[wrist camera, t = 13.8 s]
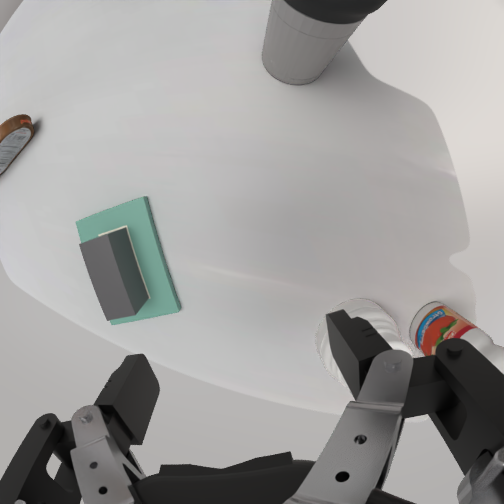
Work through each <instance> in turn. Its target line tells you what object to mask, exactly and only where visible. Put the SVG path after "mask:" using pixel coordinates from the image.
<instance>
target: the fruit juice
mask: <svg viewBox="0 0 504 504" xmlns="http://www.w3.org/2000/svg"><path fill="white" fill-rule="evenodd" d="M410 338H411V340H412V342H413V344H414V345H415V346H416V347H417V348H418V349H419V350H420V351H421V352H422V353H423V354H424V355H425V356H430V355H435V350H436V347H437V345H438V344H439V343H440V342H442V341H444V340H446V339H449V338H461V339H464V340H466V341H468V342H469V343H470V344H472V345H473V346H474V347H475V348H476V349H477V350H478V351H479V352H480V353H482V354H483V355H484V356H485V357H486V358H487V359H488V360H489V361H490V362H491V363H492V364H493V365H494V366H495V367H497V368H498V369H499V370H500V371H501V372H502V373H503V374H504V347H502V346H498V345H495V344H494V343H493V340H492V339H491V338H490V336H488V334H486V333H485V332H484V331H483V330H481V329H480V328H478V327H477V326H475V325H474V324H472V323H471V322H469V321H468V320H466V319H465V318H464V317H462V316H461V315H459V314H458V313H456V312H455V311H453V310H452V309H450V308H448V307H447V306H445V305H444V304H442V303H438V302H433V303H430V304H427V305H426V306H424V307H423V308H422V309H421V310H420V311H419V312H418V313H417V315H416V316H415V318H414V320H413V322H412V324H411V328H410Z"/></svg>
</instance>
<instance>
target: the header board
mask: <svg viewBox="0 0 504 504" xmlns="http://www.w3.org/2000/svg"><path fill="white" fill-rule="evenodd" d="M76 225H77V229H78V233H79V236H80V240H81V243H83V242H86V241H88V240H91V239H94V238H96V237H99V236H101V235H104V234H107V233H110V232H113V231H116V230H119V229H122V228H125V227H126V229H127V232H128V235H129V239H130V242H131V245H132V249H133V252H134V255H135V258H136V261H137V264H138V267H139V270H140V273H141V276H142V279H143V282H144V285H145V288H146V290H147V293H148V296H149V299H148V300H147V301H146V302H145V304H144V305H143V306H142V308H141V309H140V310H139V312H138V313H137V314H136V315H134V316H129V317H124V318H119V319H114V320H110V322H111V325H116V324H121V323H127V322H132V321H137V320H142V319H147V318H152V317H157V316H162V315H167V314H172V313H177V312H179V311H180V309H181V306H180V304H179V301H178V298H177V295H176V292H175V289H174V286H173V283H172V280H171V277H170V274H169V271H168V268H167V265H166V262H165V259H164V256H163V252H162V249H161V246H160V242H159V239H158V236H157V232H156V229H155V225H154V222H153V218H152V215H151V211H150V207H149V203H148V200H147V196H146V197H141V198H138V199H135V200H132V201H130V202H127V203H124V204H121V205H118V206H115V207H113V208H110V209H107V210H105V211H102V212H99V213H97V214H94V215H91V216H89V217H86V218H84V219H81V220H79V221H76Z"/></svg>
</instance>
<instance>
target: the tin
mask: <svg viewBox="0 0 504 504" xmlns="http://www.w3.org/2000/svg"><path fill="white" fill-rule="evenodd" d="M33 134H34V128H33V125H32V122H31V118H30V117H29V116H28V115H23V114H22V115H17V116H14V117H11V118H10V119H8V120H6V121H5V122H4V123H2V124H1V125H0V174H1V173H3V172H4V171H5V170H6V169H7V167H8V166H9V165H10V164H11V162H12V161H13V160H14V159H15V158H16V156H17V155H18V154H19V153H20V152H21V150H22V149H23V148H24V147H25V146H26V145H27V144H28V142H29V141H30V140H31V138H32V136H33Z"/></svg>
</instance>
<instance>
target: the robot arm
mask: <svg viewBox="0 0 504 504" xmlns="http://www.w3.org/2000/svg"><path fill="white" fill-rule="evenodd" d="M386 1H387V0H272V2H271V8H270V13H269V18H268V24H267V29H266V34H265V39H264V45H263V51H262V61H263V64H264V66H265V68H266V70H267V71H268V72H269V73H270V74H271V75H272V76H274V77H275V78H276V79H278V80H280V81H282V82H285V83H288V84H294V85H301V84H307V83H310V82H312V81H314V80H315V79H317V78H318V77H319V76H320V74H321V73H322V72H323V71H324V69H325V68H326V67H327V66H328V64H329V63H330V62H331V60H332V59H333V58H334V56H335V55H336V54H337V53H338V51H339V50H340V49H341V47H342V46H343V45H344V44H345V42H346V41H347V40H348V39H349V37H350V36H351V35H352V34H353V32H354V31H355V30H356V28H357V27H358V26H359V25H360V24H361V22H362V21H363V20H364V19H365V17H366V16H367V15H368V14H370V13H372V12H374V11H376V10H378V9H379V8H380V7H381V6H382V5H383V4H384V3H385V2H386ZM326 322H327V329H328V336H329V343H330V349H331V352H332V356H333V358H334V360H335V362H336V364H337V366H338V368H339V370H340V372H341V373H342V375H343V377H344V379H345V381H346V383H347V385H348V387H349V389H350V391H351V393H352V395H353V397H354V399H355V401H356V402H355V401H350V402H349V403H348V405H347V406H346V408H345V410H344V412H343V414H342V416H341V418H340V420H339V422H338V424H337V426H336V428H335V430H334V431H333V433H332V435H331V437H330V439H329V441H328V442H327V444H326V446H325V448H324V449H323V451H322V453H321V454H320V456H319V458H318V460H317V461H309V460H293V458H292V455H291V452H286V453H280V454H275V455H270V456H264V457H259V458H254V459H252V460H249V461H246V462H243V463H240V464H237V465H233V466H230V467H227V468H224V469H217V468H210V467H203V466H197V465H191V464H182V465H161V467H160V471H159V473H158V474H154V475H151V476H148V477H146V475H145V474H144V472H143V470H142V469H141V467H140V465H139V463H138V461H137V460H136V458H135V456H134V454H133V452H132V451H131V450H130V449H129V448H130V445H142V443H143V440H144V437H145V434H146V431H147V428H148V425H149V422H150V419H151V416H152V413H153V410H154V407H155V404H156V401H157V398H158V395H159V391H160V387H159V383H158V380H157V378H156V377H155V374H154V372H153V370H152V368H151V366H150V364H149V362H148V360H147V358H146V357H145V355H144V354H135V355H128V356H126V358H125V359H124V361H123V363H122V364H121V366H120V367H119V368H118V369H117V370H116V371H115V372H114V373H112V375H111V376H110V378H109V380H108V382H107V383H106V385H105V388H103V390H102V391H101V393H100V395H99V396H98V398H97V400H96V401H95V403H94V405H88V406H84V407H82V408H80V409H79V410H77V411H76V412H75V413H74V415H73V416H72V420H71V421H66V422H60V421H59V419H58V418H57V416H56V415H55V414H52V413H49V414H45V415H43V416H41V417H39V418H38V419H37V420H36V421H35V423H34V425H33V426H32V428H31V429H30V431H29V432H28V434H27V435H26V437H25V439H24V440H23V442H22V444H21V445H20V447H19V449H18V450H17V452H16V454H15V455H14V457H13V459H12V461H11V462H10V464H9V466H8V468H7V469H6V471H5V473H4V475H3V477H2V479H1V480H0V504H80V501H81V498H83V501H84V504H415V503H413V502H410V501H407V500H404V499H402V498H399V497H397V496H394V495H391V494H389V493H386V492H384V491H382V488H383V485H384V483H385V481H386V478H387V476H388V473H389V470H390V466H391V464H392V460H393V457H394V454H395V451H396V448H397V445H398V442H399V439H400V436H401V432H402V429H403V426H404V422H405V419H406V418H410V417H415V416H420V415H425V414H428V415H429V416H430V418H431V420H432V421H433V423H434V424H435V426H436V427H437V429H438V431H439V432H440V434H441V436H442V437H443V439H444V441H445V442H446V444H447V446H448V447H449V449H450V451H451V453H452V454H453V456H454V458H455V459H456V461H457V463H458V465H459V466H460V468H461V470H462V472H463V474H464V475H465V477H464V478H463V480H462V481H461V483H460V485H459V487H458V491H457V497H458V501H459V504H504V374H503V373H502V372H501V371H500V370H499V369H498V368H497V367H495V366H494V365H493V364H492V363H491V362H490V361H489V360H488V359H487V358H486V357H485V356H484V355H483V354H482V353H480V352H479V351H478V350H477V349H476V348H475V347H474V346H473V345H472V344H470V343H469V342H468V341H466V340H464V339H461V338H449V339H446V340H444V341H442V342H440V343H439V344H438V345H437V347H436V350H435V355H430V356H425V357H420V358H412V356H411V355H410V354H409V353H408V352H406V351H403V350H393V348H392V347H391V346H390V345H389V344H388V343H387V342H386V341H385V339H384V338H383V337H382V336H381V335H380V334H379V333H378V332H377V330H376V329H375V328H373V326H372V325H371V324H370V323H369V322H368V320H365V319H363V318H360V317H355V318H352V319H351V318H350V316H349V315H348V314H347V313H346V311H345V310H344V309H342V310H338V311H335V312H332V313H328V314H326ZM52 453H54V454H55V456H56V457H57V458H58V459H59V460H60V461H61V462H62V463H61V465H60V467H59V469H58V472H57V474H56V477H55V479H54V480H53V479H52V478H51V477H50V476H49V475H48V473H47V470H46V465H47V463H48V461H49V459H50V457H51V455H52Z"/></svg>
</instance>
